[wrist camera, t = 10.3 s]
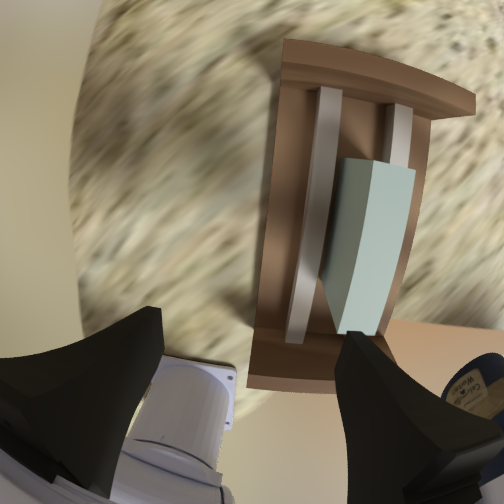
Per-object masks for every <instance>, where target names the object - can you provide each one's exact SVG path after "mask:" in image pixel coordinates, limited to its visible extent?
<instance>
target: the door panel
mask: <svg viewBox="0 0 504 504" xmlns="http://www.w3.org/2000/svg"><path fill="white" fill-rule="evenodd" d="M415 173H416V170H413V169H409V168H405V167H401V166H397V165H393V164H388V163H384V162H379V161H375V160H365V159H354V158H341V161H340V169H339V177H338V184H337V191H336V198H335V205H334V211H333V218H332V224H331V230H330V236H329V241H328V247H327V253H326V258H325V263H324V268H323V273H322V278H321V282H322V285H323V288H324V292H325V295H326V298H327V301H328V304H329V308H330V311H331V314H332V317H333V321H334V324H335V327H336V331H337V334H346V332H347V330H348V331H362V332H363V333H364V334H365V335H375V333H376V331H377V328H378V325H379V322H380V319H381V316H382V313H383V310H384V307H385V304H386V301H387V298H388V294H389V291H390V288H391V284H392V281H393V277H394V274H395V270H396V266H397V263H398V259H399V255H400V251H401V247H402V243H403V238H404V234H405V229H406V225H407V220H408V215H409V210H410V204H411V199H412V193H413V187H414V180H415Z"/></svg>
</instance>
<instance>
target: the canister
mask: <svg viewBox="0 0 504 504" xmlns="http://www.w3.org/2000/svg"><path fill="white" fill-rule="evenodd" d="M441 399H443V400H445V401H447V402H448V403H450V404H452V405H454V406H456V407H458V408H460V409H462V410H465V411H467V412H469V413H472V414H474V415H477V416H480V417H483V418H486V419H489V420H493V421H496V422H498V424H499V426H500V428H501V429H502V431H503V433H504V357H503V356H501V355H499V354H498V353H487V354H484V355H481V356H479V357H477V358H475V359H473V360H472V361H471V362H469V363H468V364H466V365H465V366H464V367H463V368H461V369H460V370H459V371H458V372H457V373H456V374H455V375H454V376H453V378H452V379H451V380H450V381H449V383H448V384H447V386H446V387H445V389H444V391H443V393H442V395H441ZM480 474H481V477H482V478H481V480H480V481H479V482H477V483H478V486H479V488H480V487H482V486H483V485H485V484H486V483H488V482H490V481H492V480H494V479H496V478H498V477H500V476H501V475H503V474H504V447H503V448H502V450H501V451H500V452H499V453H498V454H497V455H496V456H495V457H494V458H493V459H492V460H491V461H490V462H489V463H488V464H487V465H486V466H485V467H484V468H483V469H482V470H481V471H480Z"/></svg>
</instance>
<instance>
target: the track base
mask: <svg viewBox="0 0 504 504" xmlns="http://www.w3.org/2000/svg"><path fill="white" fill-rule="evenodd" d="M471 115H476V94H474V93H472V92H470V91H468V90H466V89H464V88H462V87H460V86H458V85H456V84H454V83H451V82H449V81H447V80H445V79H442V78H440V77H437V76H435V75H432V74H430V73H427V72H425V71H422V70H420V69H417V68H414V67H411V66H408V65H405V64H402V63H399V62H396V61H393V60H390V59H387V58H383V57H380V56H376V55H372V54H369V53H365V52H361V51H357V50H352V49H348V48H343V47H338V46H333V45H328V44H322V43H316V42H310V41H302V40H295V39H286V38H284V43H283V54H282V67H281V83H280V94H279V105H278V115H277V125H276V135H275V145H274V155H273V165H272V174H271V184H270V193H269V203H268V212H267V221H266V230H265V239H264V248H263V257H262V266H261V275H260V283H259V292H258V301H257V309H256V318H255V326H254V334H253V341H252V349H251V356H250V363H249V371H248V379H247V387H246V388H252V389H261V390H272V391H283V392H299V393H320V394H336V387H335V375H334V368H335V365H336V363H337V360H338V357H339V354H340V351H341V348H342V345H343V342H344V339H345V336H346V334H337V331H336V327H335V324H334V321H333V317H332V314H331V311H330V308H329V304H328V301H327V298H326V295H325V292H324V288H323V285H322V282H321V278H322V273H323V268H324V263H325V258H326V253H327V247H328V241H329V236H330V230H331V224H332V218H333V211H334V205H335V198H336V191H337V184H338V177H339V169H340V161H341V158H354V159H365V160H375V161H379V162H384V163H388V164H393V165H397V166H401V167H405V168H409V169H413V170H416V173H415V180H414V187H413V193H412V199H411V204H410V210H409V215H408V220H407V225H406V229H405V234H404V238H403V243H402V247H401V251H400V255H399V259H398V263H397V266H396V270H395V274H394V277H393V281H392V284H391V288H390V291H389V294H388V298H387V301H386V304H385V307H384V310H383V313H382V316H381V319H380V322H379V325H378V328H377V331H376V333H375V335H366V336H368V337H369V338H370V339H371V340H372V341H373V342H374V343H375V344H376V345H377V346H378V347H379V348H380V349H381V350H382V351H383V352H384V353H385V354H386V355H387V356H388V357H389V358H390V359H391V360H392V361H393V362H394V363H395V364H396V365H397V363H396V361H395V359H394V357H393V355H392V353H391V350H390V348H389V346H388V344H387V342H386V340H385V338H384V334H385V331H386V328H387V325H388V323H389V320H390V317H391V314H392V312H393V309H394V306H395V303H396V300H397V296H398V293H399V290H400V287H401V284H402V280H403V277H404V273H405V270H406V266H407V263H408V259H409V255H410V251H411V247H412V243H413V239H414V234H415V230H416V225H417V221H418V216H419V211H420V206H421V200H422V194H423V188H424V182H425V175H426V168H427V160H428V151H429V141H430V129H431V120H437V119H445V118H453V117H461V116H471ZM397 366H398V365H397Z"/></svg>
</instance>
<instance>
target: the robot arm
mask: <svg viewBox="0 0 504 504" xmlns="http://www.w3.org/2000/svg"><path fill="white" fill-rule="evenodd" d="M164 349H165V347H164V337H163V326H162V313H161V308H157V307H151V306H146V307H143V308H142V309H140V310H138V311H136V312H134V313H132V314H131V315H129V316H127V317H125V318H124V319H122V320H120V321H118V322H117V323H115V324H113V325H111V326H109V327H107V328H105V329H103V330H101V331H99V332H97V333H95V334H93V335H91V336H89V337H87V338H85V339H83V340H80V341H78V342H75V343H73V344H70V345H67V346H64V347H62V348H58V349H54V350H50V351H47V352H43V353H39V354H34V355H28V356H22V357H14V358H0V504H235V500H234V497H233V496H232V494H231V491H230V489H229V488H228V487H226V486H223V485H221V481H222V475H223V474H222V473H219V472H216V468H217V463H218V458H219V453H220V448H221V442H222V437H223V432H224V430H228V431H229V430H231V429H232V423H233V411H234V400H235V388H236V377H237V370H236V369H235V368H233V367H227V366H220V365H214V364H208V363H202V362H196V361H190V360H185V359H180V358H175V357H170V356H165V355H163V352H164ZM334 375H335V387H336V394H337V399H338V404H339V408H340V413H341V417H342V422H343V427H344V432H345V437H346V444H347V460H348V496H347V504H504V474H503V475H501V476H500V477H498V478H496V479H494V480H492V481H490V482H488V483H486V484H485V485H483V486H482V487H480V488H479V486H478V483H477V482H479V481H480V480H481V478H482V477H481V474H480V471H481V470H482V469H483V468H484V467H485V466H486V465H487V464H488V463H489V462H490V461H491V460H492V459H493V458H494V457H495V456H496V455H497V454H498V453H499V452H500V451H501V450H502V448H503V447H504V433H503V431H502V429H501V428H500V426H499V424H498V422H496V421H493V420H489V419H486V418H483V417H480V416H477V415H474V414H472V413H469V412H467V411H465V410H462V409H460V408H458V407H456V406H454V405H452V404H450V403H448V402H447V401H445V400H443V399H441V398H440V397H438V396H436V395H435V394H433V393H432V392H430V391H429V390H427V389H426V388H425V387H423V386H422V385H420V384H419V383H418V382H416V381H415V380H414V379H412V378H411V377H410V376H409V375H408V374H407V373H405V372H404V371H403V370H402V369H401V368H400V367H399V366H397V365H396V364H395V363H394V362H393V361H392V360H391V359H390V358H389V357H388V356H387V355H386V354H385V353H384V352H383V351H382V350H381V349H380V348H379V347H378V346H377V345H376V344H375V343H374V342H373V341H372V340H371V339H370V338H369V337H368V336H366V335H365V334H364V333H363V332H362V331H348V330H347V332H346V336H345V339H344V342H343V345H342V348H341V351H340V354H339V357H338V360H337V363H336V365H335V368H334ZM229 376H232V377H229ZM150 382H151V383H152V386H151V388H150V390H149V392H148V394H147V396H146V398H145V400H144V403H143V405H142V407H141V409H140V411H139V413H138V415H137V417H136V419H135V421H134V423H133V426H132V428H131V430H130V432H129V434H128V436H127V437H125V436H126V433H127V431H128V428H129V425H130V422H131V420H132V417H133V415H134V413H135V410H136V408H137V406H138V405H139V403H140V401H141V399H142V397H143V395H144V393H145V391H146V390H147V388H148V386H149V384H150Z"/></svg>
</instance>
